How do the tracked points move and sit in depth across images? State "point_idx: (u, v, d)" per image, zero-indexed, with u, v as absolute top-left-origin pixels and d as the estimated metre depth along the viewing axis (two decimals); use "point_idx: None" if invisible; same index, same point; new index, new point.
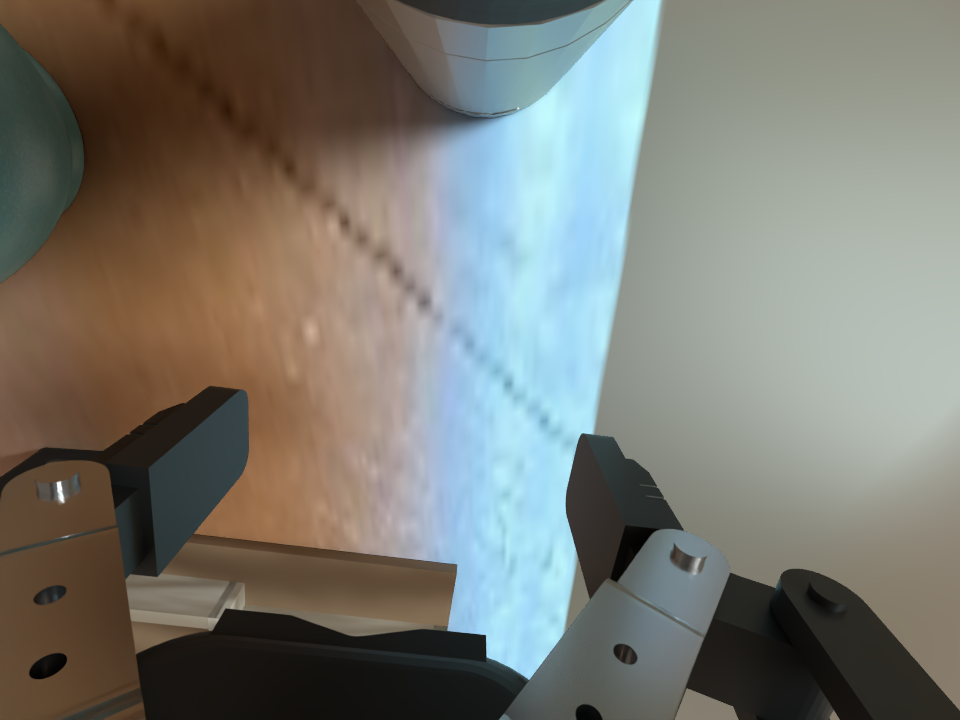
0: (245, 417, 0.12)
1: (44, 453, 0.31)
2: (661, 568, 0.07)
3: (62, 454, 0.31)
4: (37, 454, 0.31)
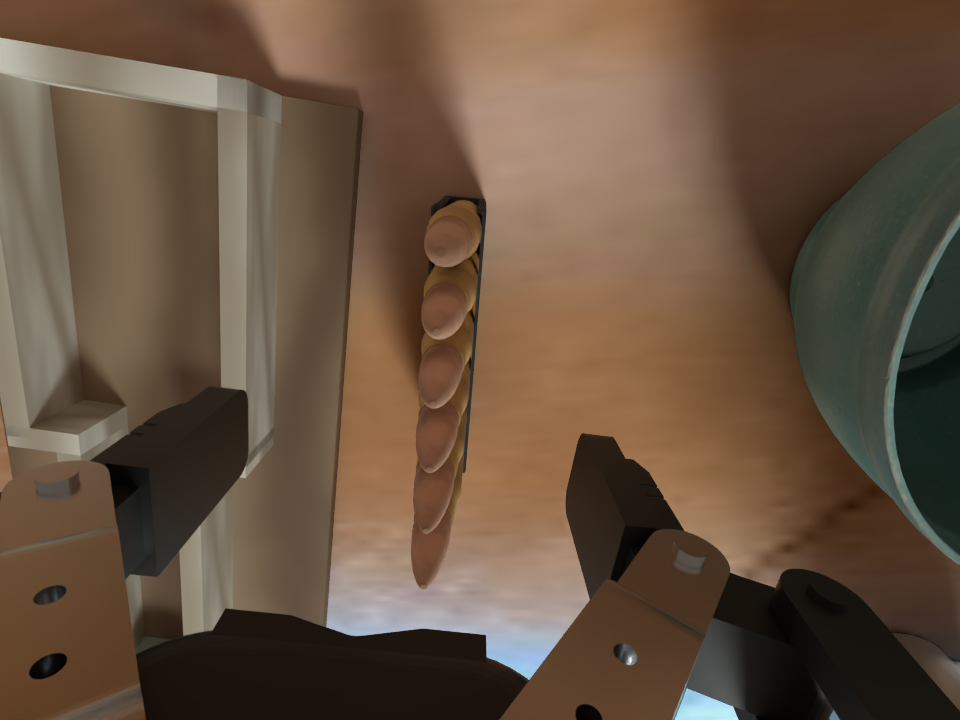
0: (245, 417, 0.12)
1: None
2: (661, 568, 0.07)
3: None
4: None
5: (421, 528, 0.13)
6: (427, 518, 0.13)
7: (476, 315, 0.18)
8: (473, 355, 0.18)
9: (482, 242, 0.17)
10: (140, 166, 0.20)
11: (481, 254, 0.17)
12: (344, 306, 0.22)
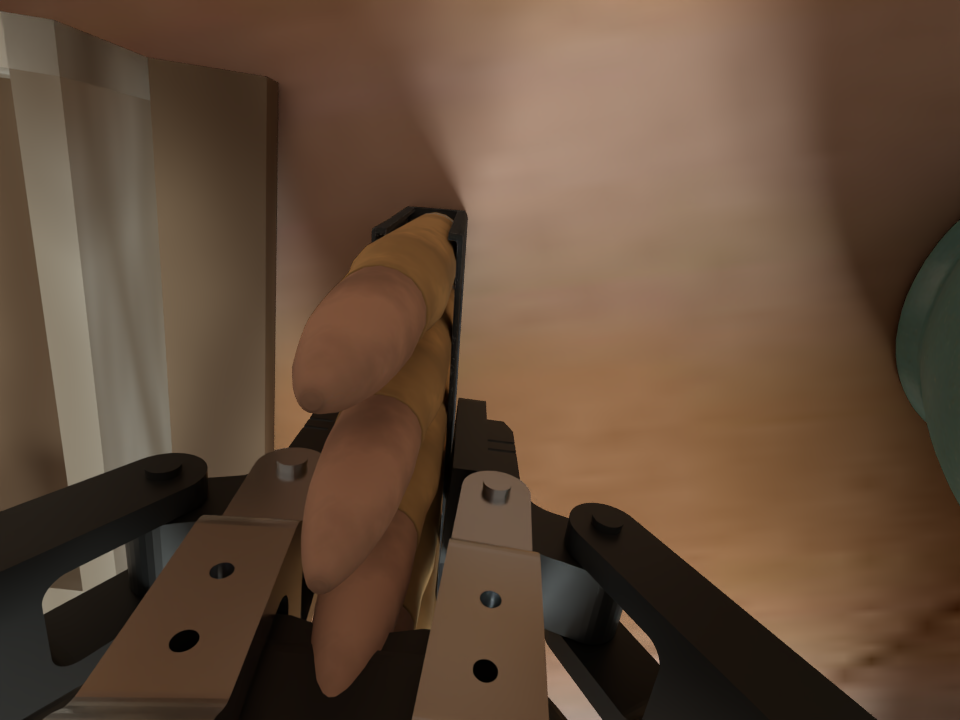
0: None
1: (466, 235, 0.14)
2: (481, 510, 0.08)
3: None
4: None
5: None
6: None
7: (450, 401, 0.11)
8: (447, 460, 0.12)
9: (457, 287, 0.10)
10: None
11: (456, 306, 0.11)
12: (264, 366, 0.15)
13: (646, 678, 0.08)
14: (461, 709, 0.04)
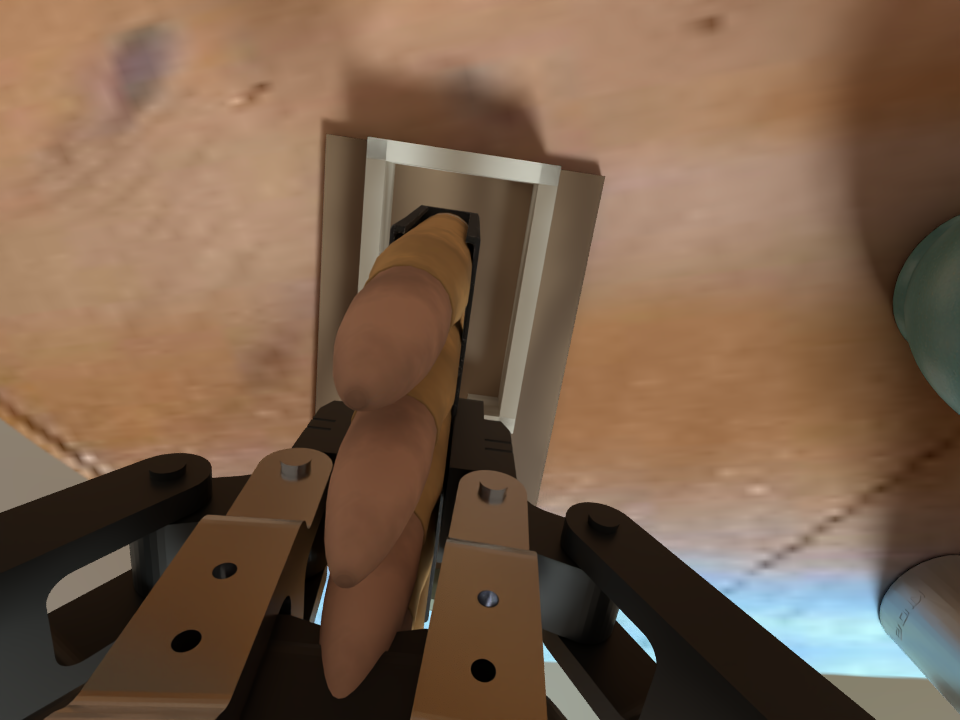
0: None
1: None
2: (477, 510, 0.08)
3: None
4: None
5: None
6: None
7: (455, 401, 0.11)
8: (448, 460, 0.12)
9: (471, 290, 0.10)
10: None
11: (469, 309, 0.11)
12: (576, 311, 0.31)
13: (642, 677, 0.08)
14: (459, 709, 0.04)
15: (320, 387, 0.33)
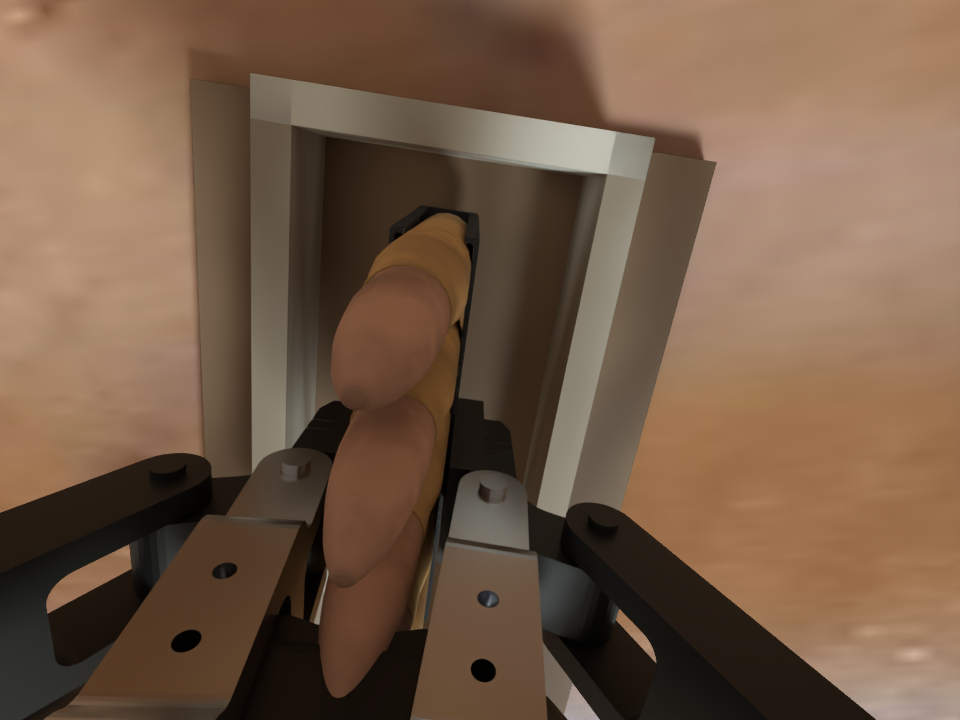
0: None
1: None
2: (477, 510, 0.08)
3: None
4: None
5: None
6: None
7: (455, 401, 0.11)
8: (447, 460, 0.12)
9: (471, 290, 0.10)
10: None
11: (468, 309, 0.11)
12: (650, 398, 0.18)
13: (643, 677, 0.08)
14: (459, 709, 0.04)
15: None
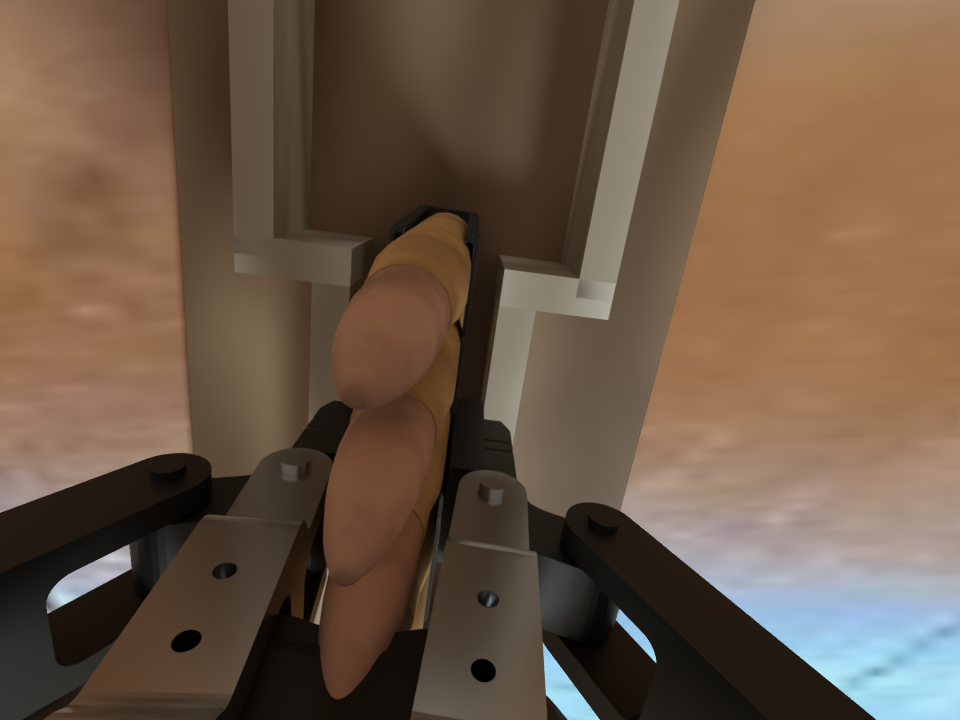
0: None
1: None
2: (477, 509, 0.08)
3: None
4: None
5: None
6: None
7: (455, 401, 0.11)
8: (447, 459, 0.12)
9: (471, 289, 0.10)
10: None
11: (468, 308, 0.11)
12: (739, 54, 0.14)
13: (643, 677, 0.08)
14: (459, 709, 0.04)
15: (189, 244, 0.16)
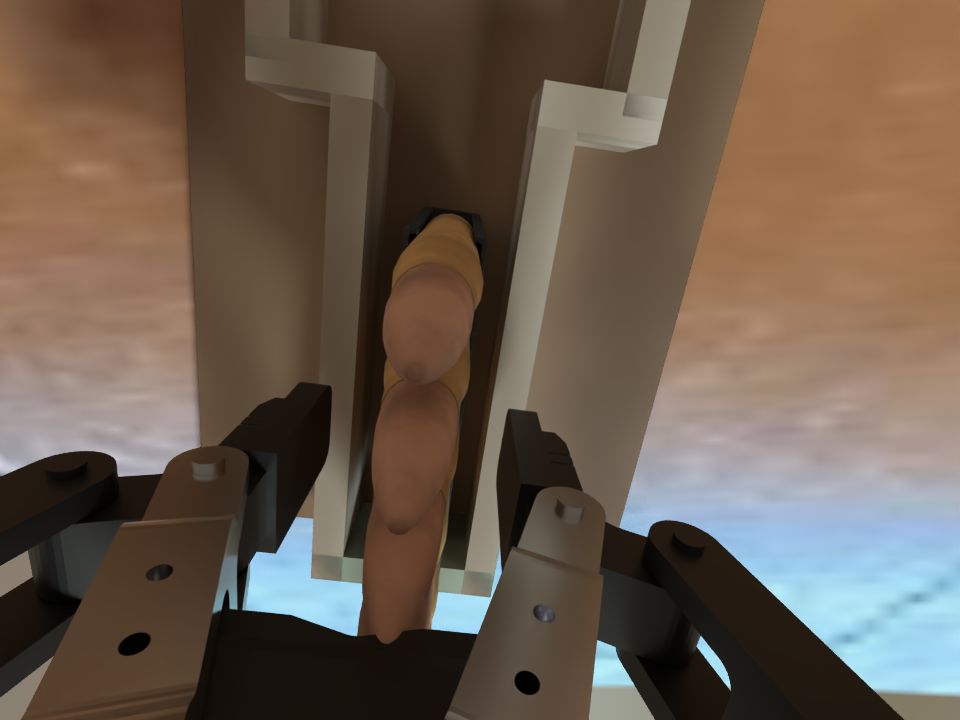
0: (329, 410, 0.13)
1: None
2: (551, 525, 0.08)
3: None
4: None
5: None
6: None
7: None
8: None
9: None
10: None
11: (477, 303, 0.11)
12: None
13: (720, 710, 0.07)
14: (497, 715, 0.04)
15: (194, 84, 0.14)
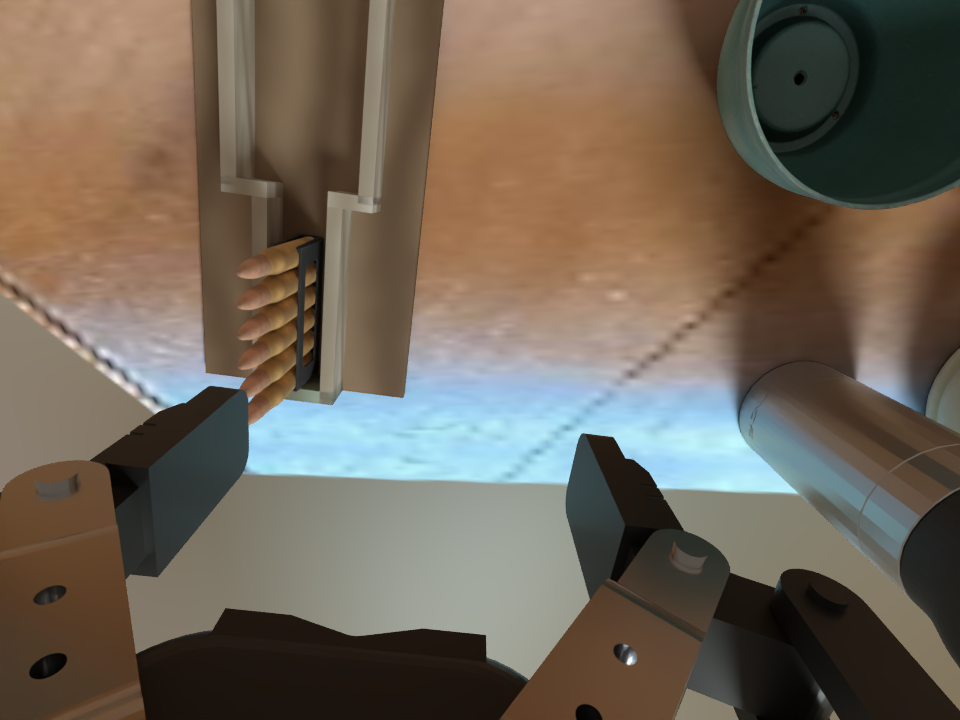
0: (245, 417, 0.12)
1: (320, 246, 0.37)
2: (661, 568, 0.07)
3: (320, 261, 0.37)
4: (320, 242, 0.36)
5: None
6: None
7: (298, 302, 0.33)
8: (298, 324, 0.34)
9: (299, 264, 0.33)
10: (307, 7, 0.32)
11: (299, 270, 0.33)
12: (432, 105, 0.34)
13: None
14: None
15: (202, 184, 0.36)
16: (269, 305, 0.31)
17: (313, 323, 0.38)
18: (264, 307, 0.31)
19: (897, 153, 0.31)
